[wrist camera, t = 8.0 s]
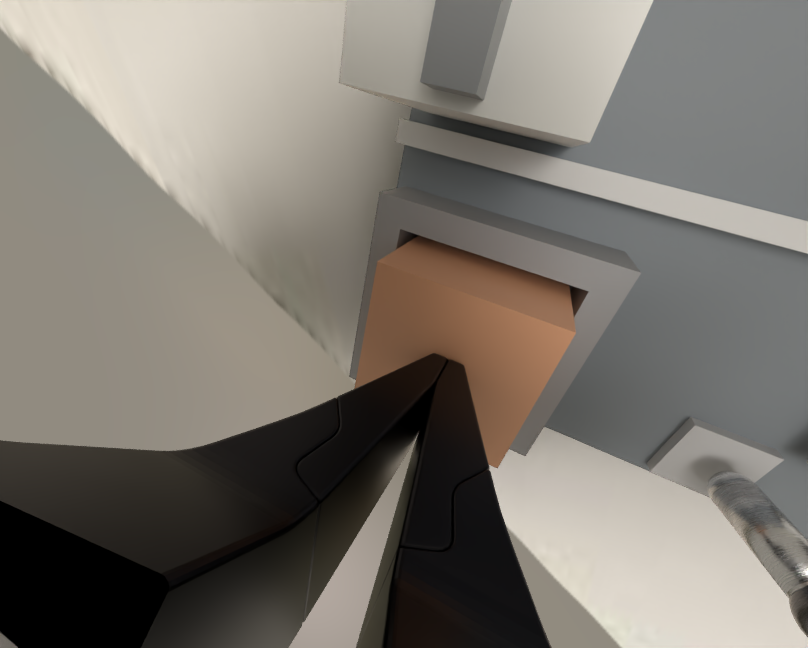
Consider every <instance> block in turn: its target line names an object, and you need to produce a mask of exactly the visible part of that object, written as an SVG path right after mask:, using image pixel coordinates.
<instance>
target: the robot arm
mask: <svg viewBox="0 0 808 648" xmlns="http://www.w3.org/2000/svg"><path fill="white" fill-rule="evenodd" d="M417 435H418V436H417ZM416 437H417V439H416ZM415 439H416V442H415V445H414V448H413V452H412V455H411V459H410V462H409V466H408V469H407V473H406V476H405V479H404V483H403V486H402V490H401V493H400V497H399V501H398V504H397V507H396V511H395V514H394V518H393V521H392V525H391V528H390V532H389V535H388V538H387V542H386V546H385V549H384V552H383V556H382V559H381V563H380V566H379V570H378V573H377V576H376V580H375V583H374V587H373V590H372V594H371V598H370V601H369V604H368V608H367V611H366V615H365V618H364V622H363V625H362V628H361V632H360V635H359V639H358V642H357V646H356V648H551V645H550V643H549V641H548V638H547V636H546V633H545V631H544V628H543V626H542V623H541V620H540V618H539V615H538V612H537V610H536V607H535V604H534V602H533V599H532V596H531V594H530V591H529V588H528V585H527V583H526V580H525V577H524V575H523V572H522V569H521V567H520V564H519V561H518V558H517V556H516V553H515V550H514V548H513V545H512V542H511V540H510V536H509V534H508V531H507V528H506V525H505V522H504V519H503V516H502V513H501V510H500V506H499V503H498V499H497V495H496V492H495V488H494V484H493V480H492V476H491V472H490V471H489V464H488V460H487V456H486V452H485V448H484V444H483V440H482V436H481V432H480V428H479V423H478V419H477V415H476V411H475V407H474V403H473V399H472V395H471V391H470V387H469V383H468V378H467V374H466V370H465V367H464V365H463V364H460V363H458V362H455V361H453V360H449V361H448V359H447V358H446V357H443V356H441V355H438V354H436V353H432V354H429V355H427V356H425V357H423V358H421V359H419V360H416V361H414V362H412V363H410V364H408V365H405V366H403V367H401V368H399V369H397V370H395V371H392V372H390V373H388V374H386V375H384V376H382V377H379V378H377V379H375V380H373V381H371V382H368V383H366V384H364V385H362V386H360V387H358V388H355V389H353V390H351V391H349V392H347V393H344V394H342V395H340V396H338V397H337V398H333V399H331V400H329V401H327V402H325V403H322V404H320V405H318V406H316V407H313V408H311V409H308V410H306V411H304V412H301V413H298V414H296V415H293V416H290V417H288V418H285V419H282V420H279V421H276V422H273V423H271V424H267V425H265V426H262V427H259V428H256V429H253V430H250V431H247V432H244V433H241V434H238V435H235V436H232V437H229V438H226V439H223V440H220V441H217V442H214V443H211V444H207V445H204V446H200V447H196V448H192V449H185V450H178V451H152V450H136V449H120V448H104V447H87V446H69V445H54V444H38V443H22V442H11V441H1V440H0V648H288V647H289V646H290V644H291V643H292V641H293V639H294V638H295V636H296V635H297V633H298V631H299V630H300V628H301V626H302V622H304V621H305V620H306V618H307V616H308V615H309V613H310V611H311V610H312V608H313V607H314V605H315V603H316V602H317V600H318V598H319V597H320V595H321V593H322V592H323V590H324V588H325V587H326V585H327V583H328V582H329V580H330V579H331V577H332V575H333V574H334V572H335V570H336V569H337V567H338V566H339V564H340V562H341V561H342V559H343V557H344V556H345V554H346V552H347V551H348V549H349V547H350V546H351V544H352V543H353V541H354V539H355V538H356V536H357V534H358V533H359V531H360V529H361V528H362V526H363V525H364V523H365V521H366V520H367V518H368V516H369V515H370V513H371V512H372V510H373V508H374V507H375V505H376V503H377V502H378V500H379V498H380V497H381V495H382V493H383V492H384V490H385V488H386V487H387V485H388V484H389V482H390V480H391V479H392V477H393V475H394V474H395V472H396V470H397V469H398V467H399V466H400V464H401V462H402V460H403V459H404V457H405V456H406V454H407V452H408V451H409V449H410V448H411V446H412V444H413V442H414V441H415Z"/></svg>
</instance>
